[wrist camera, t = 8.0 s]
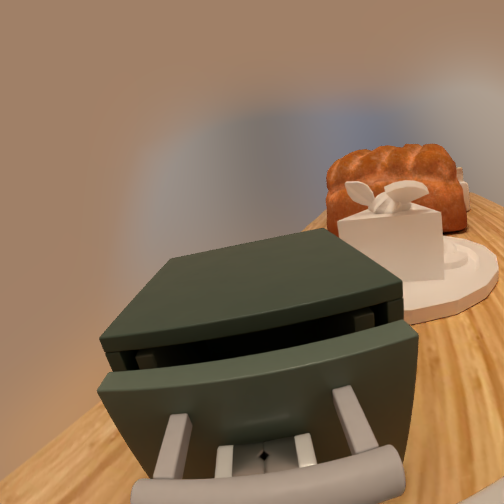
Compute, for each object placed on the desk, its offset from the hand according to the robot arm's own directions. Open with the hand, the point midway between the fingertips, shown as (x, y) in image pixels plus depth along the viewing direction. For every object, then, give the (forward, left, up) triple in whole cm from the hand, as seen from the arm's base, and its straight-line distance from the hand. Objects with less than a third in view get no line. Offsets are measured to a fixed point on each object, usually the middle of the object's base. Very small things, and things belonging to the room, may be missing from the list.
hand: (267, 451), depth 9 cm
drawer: (-1, +4, -4) cm, 6 cm away
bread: (+19, +50, -5) cm, 53 cm away
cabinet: (-1, +9, -5) cm, 10 cm away
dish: (+12, +28, -5) cm, 30 cm away
